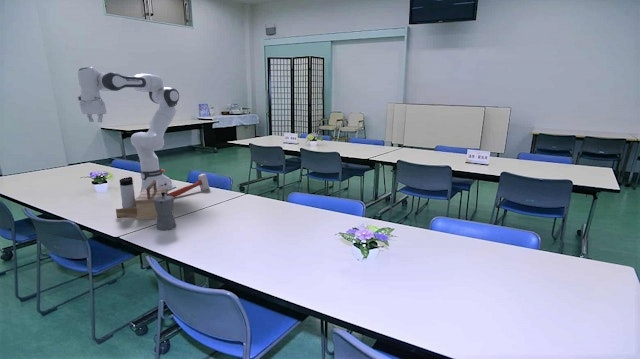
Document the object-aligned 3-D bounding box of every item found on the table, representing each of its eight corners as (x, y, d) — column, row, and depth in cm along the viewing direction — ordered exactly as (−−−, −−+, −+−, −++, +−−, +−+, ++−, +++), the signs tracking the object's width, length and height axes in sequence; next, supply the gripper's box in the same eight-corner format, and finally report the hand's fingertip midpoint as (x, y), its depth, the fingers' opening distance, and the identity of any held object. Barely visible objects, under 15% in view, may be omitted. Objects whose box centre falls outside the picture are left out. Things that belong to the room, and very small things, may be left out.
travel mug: (139, 212, 197) (135, 177, 192) (129, 216, 191) (125, 180, 186) (130, 211, 199) (126, 176, 194) (120, 214, 193) (116, 179, 188)
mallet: (168, 190, 219) (206, 173, 243) (165, 189, 221) (203, 172, 245) (172, 205, 223) (209, 188, 247) (169, 205, 225) (206, 187, 249)
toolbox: (125, 208, 204) (122, 180, 200) (169, 205, 210) (166, 178, 206) (114, 221, 183) (110, 190, 179) (163, 218, 189) (160, 188, 185)
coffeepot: (174, 231, 171) (170, 195, 167) (153, 233, 169) (149, 196, 164) (179, 220, 185) (176, 187, 181) (159, 221, 183) (156, 188, 179)
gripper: (107, 96, 197) (111, 122, 200) (87, 97, 207) (92, 121, 211) (95, 97, 191) (99, 123, 195) (76, 97, 202) (80, 122, 205)
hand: (95, 122), depth 203 cm, fingers open, 8 cm apart
